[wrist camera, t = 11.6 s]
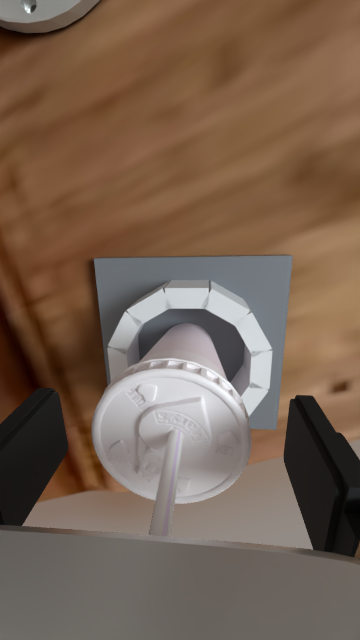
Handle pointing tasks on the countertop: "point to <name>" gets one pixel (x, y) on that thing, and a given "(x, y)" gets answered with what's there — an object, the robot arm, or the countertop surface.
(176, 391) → the smoothie
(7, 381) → the countertop surface
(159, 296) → the holder
